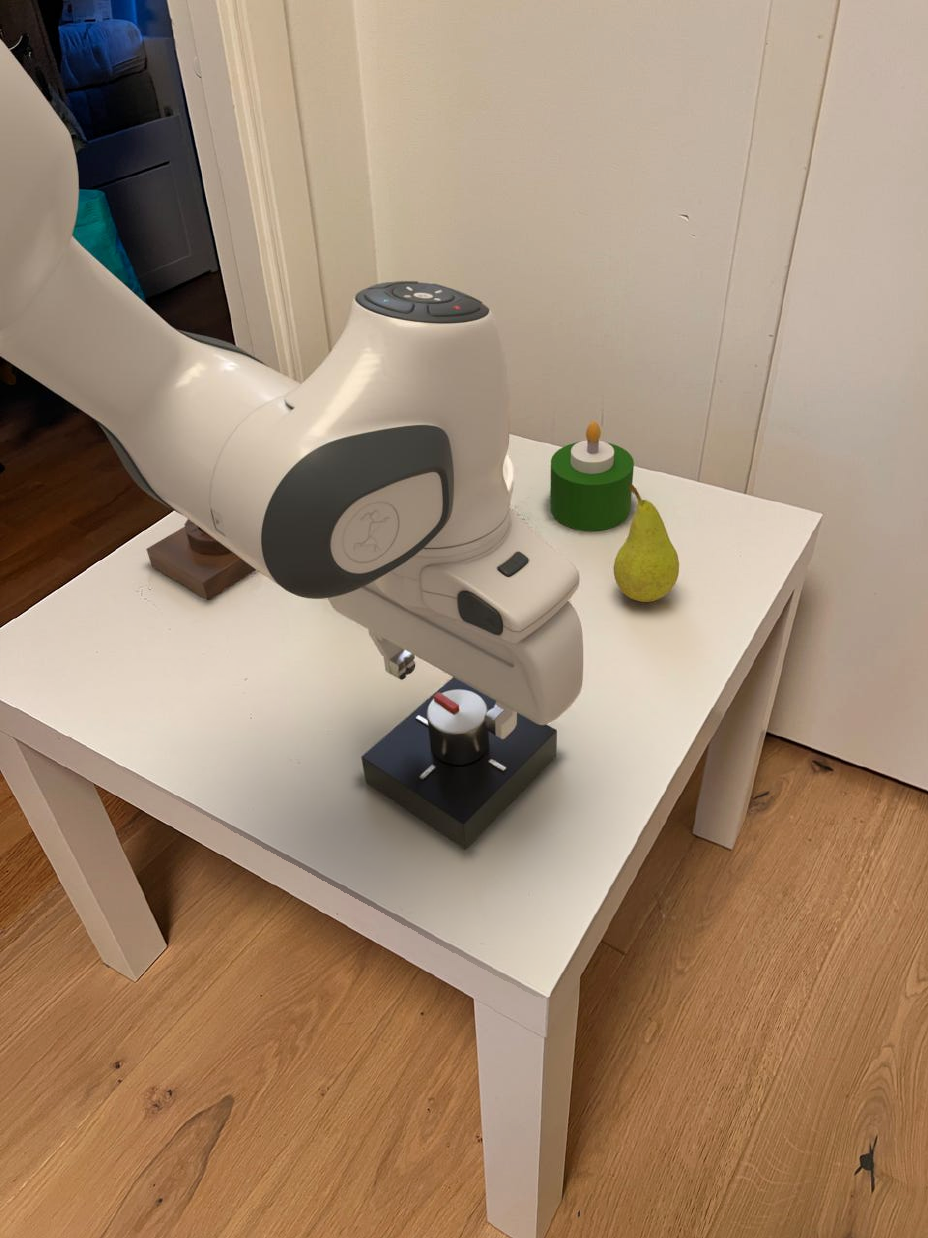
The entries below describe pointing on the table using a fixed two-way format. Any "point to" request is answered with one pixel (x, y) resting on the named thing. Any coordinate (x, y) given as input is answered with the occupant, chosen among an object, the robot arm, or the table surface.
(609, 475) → the candle
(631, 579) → the fruit
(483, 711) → the dimmer knob
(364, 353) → the robot arm
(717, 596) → the table surface
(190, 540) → the lamp switch
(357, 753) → the table surface
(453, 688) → the dimmer panel
